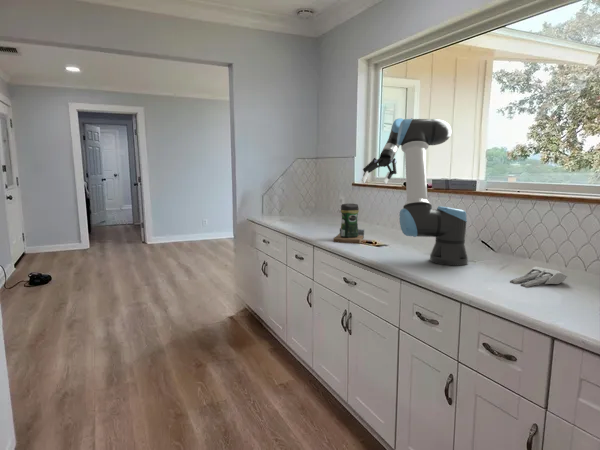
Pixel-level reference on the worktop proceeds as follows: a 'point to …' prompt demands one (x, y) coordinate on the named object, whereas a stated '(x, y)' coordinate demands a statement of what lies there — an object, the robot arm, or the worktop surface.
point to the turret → (540, 277)
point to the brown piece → (350, 240)
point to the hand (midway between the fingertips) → (373, 182)
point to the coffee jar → (349, 220)
